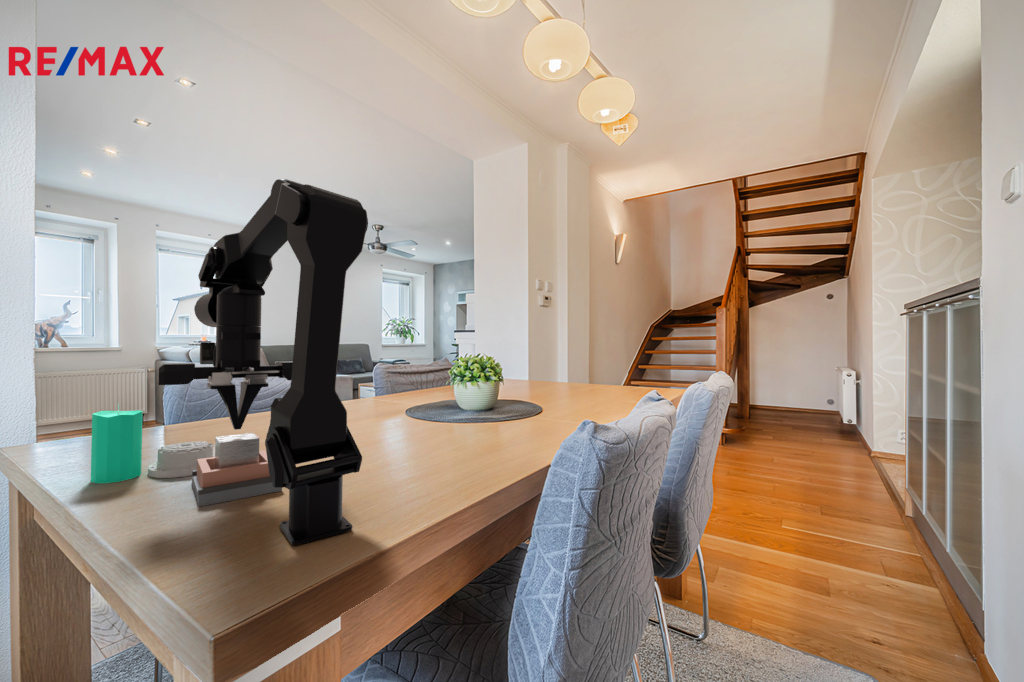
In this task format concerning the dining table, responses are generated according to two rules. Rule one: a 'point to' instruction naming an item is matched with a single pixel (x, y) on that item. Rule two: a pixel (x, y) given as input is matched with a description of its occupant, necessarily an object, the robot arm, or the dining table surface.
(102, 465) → the candle
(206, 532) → the dining table surface
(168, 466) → the mechanical component
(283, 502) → the dining table surface
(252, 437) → the block
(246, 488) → the frame
